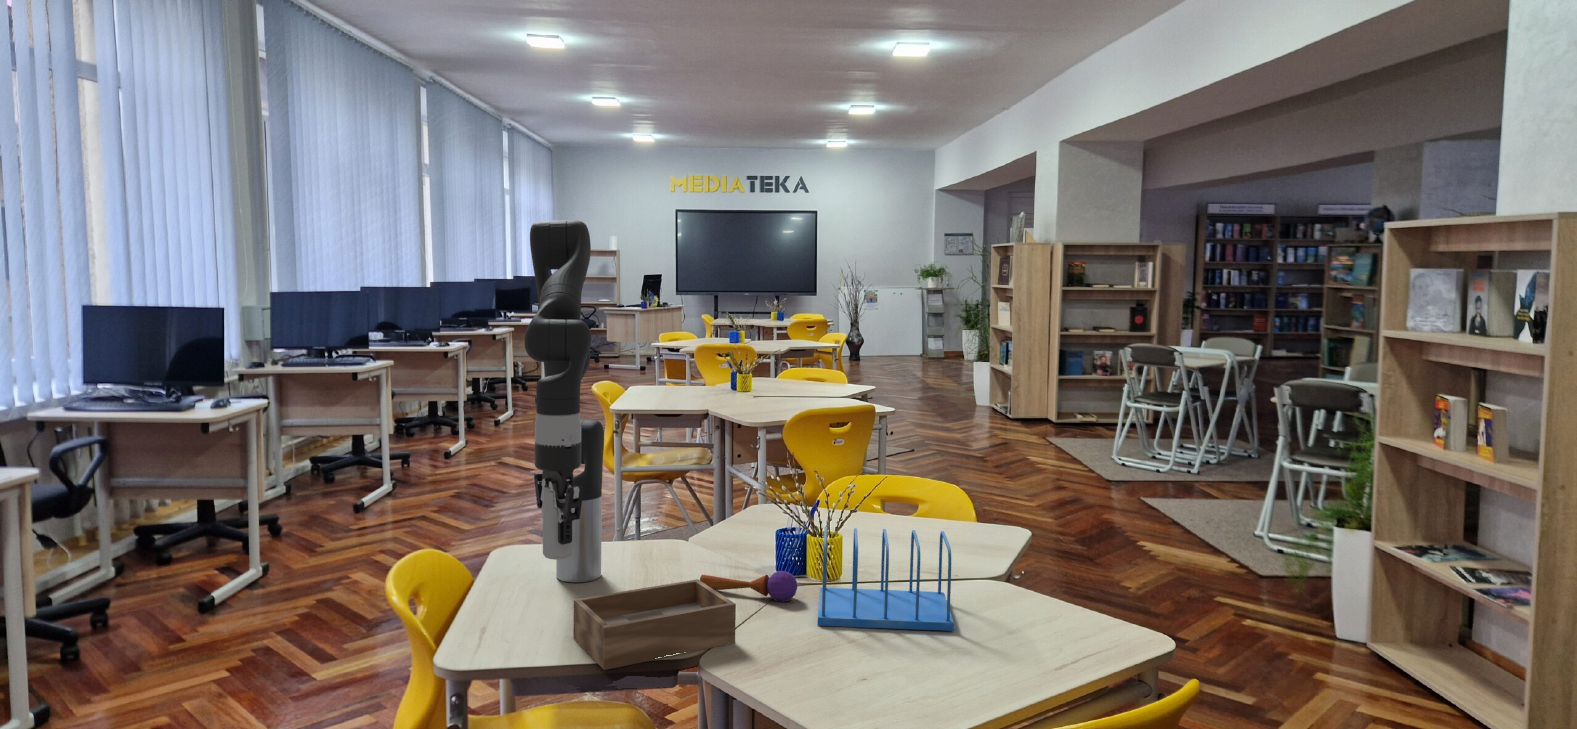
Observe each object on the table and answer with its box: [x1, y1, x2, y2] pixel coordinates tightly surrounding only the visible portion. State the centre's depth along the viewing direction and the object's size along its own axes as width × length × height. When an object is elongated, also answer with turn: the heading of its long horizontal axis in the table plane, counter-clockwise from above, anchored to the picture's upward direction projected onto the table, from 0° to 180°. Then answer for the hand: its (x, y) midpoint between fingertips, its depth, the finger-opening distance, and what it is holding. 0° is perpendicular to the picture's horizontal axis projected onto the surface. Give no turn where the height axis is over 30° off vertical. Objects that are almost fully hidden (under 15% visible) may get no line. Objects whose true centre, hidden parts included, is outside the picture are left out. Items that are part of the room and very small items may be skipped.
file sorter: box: [817, 526, 955, 632], centre depth 179 cm, size 25×17×15 cm
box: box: [572, 578, 737, 671], centre depth 163 cm, size 15×24×7 cm, turn 122°
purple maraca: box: [699, 570, 798, 602], centre depth 188 cm, size 6×6×20 cm
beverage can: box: [542, 486, 572, 561], centre depth 157 cm, size 5×5×12 cm
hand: (557, 539), depth 157 cm, fingers closed on beverage can, 4 cm apart
